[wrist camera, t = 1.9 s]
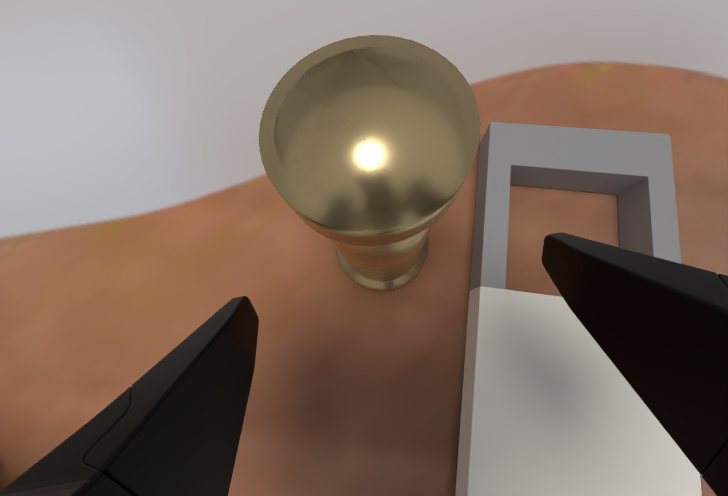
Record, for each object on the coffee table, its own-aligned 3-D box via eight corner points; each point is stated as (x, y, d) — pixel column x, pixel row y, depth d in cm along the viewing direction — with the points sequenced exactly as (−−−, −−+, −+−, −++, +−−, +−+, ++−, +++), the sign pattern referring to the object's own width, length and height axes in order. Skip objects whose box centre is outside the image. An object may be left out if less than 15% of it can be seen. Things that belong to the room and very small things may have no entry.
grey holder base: (660, 544, 16) (709, 585, 13) (454, 500, 17) (465, 530, 14) (637, 157, 20) (669, 134, 18) (479, 144, 22) (490, 121, 19)
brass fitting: (441, 235, 20) (521, 88, 8) (395, 308, 19) (402, 276, 7) (369, 193, 21) (338, 7, 9) (323, 261, 21) (216, 159, 8)
